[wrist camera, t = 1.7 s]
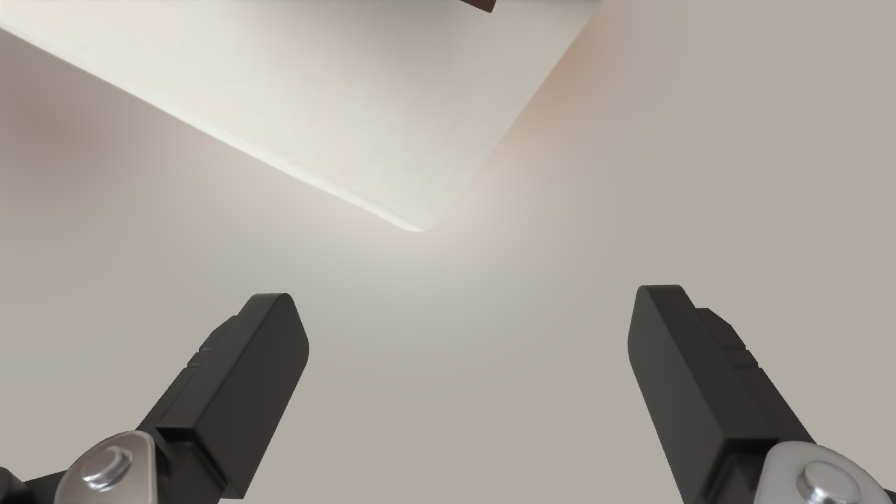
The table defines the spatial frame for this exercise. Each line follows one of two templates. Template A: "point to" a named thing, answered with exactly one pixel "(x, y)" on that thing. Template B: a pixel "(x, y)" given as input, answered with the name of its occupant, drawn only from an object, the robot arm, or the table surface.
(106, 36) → the table surface
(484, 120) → the table surface
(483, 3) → the brown stand
